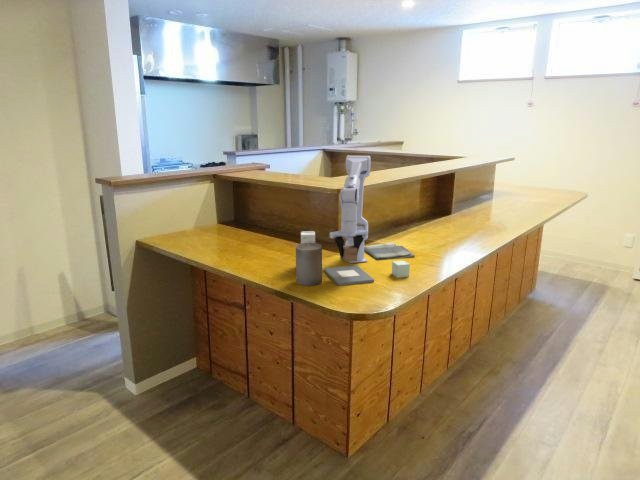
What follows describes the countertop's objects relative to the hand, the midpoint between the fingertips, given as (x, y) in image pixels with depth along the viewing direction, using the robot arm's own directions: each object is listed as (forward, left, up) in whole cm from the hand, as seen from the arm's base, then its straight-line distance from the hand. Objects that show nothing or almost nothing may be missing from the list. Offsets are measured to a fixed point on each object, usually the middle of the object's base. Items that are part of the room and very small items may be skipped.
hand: (348, 255), depth 171 cm
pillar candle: (+2, -16, -8) cm, 18 cm away
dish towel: (-25, +28, -9) cm, 39 cm away
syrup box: (-15, -12, -8) cm, 21 cm away
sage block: (+4, +20, -8) cm, 22 cm away
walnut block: (0, 0, -2) cm, 2 cm away
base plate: (0, 0, -8) cm, 8 cm away
